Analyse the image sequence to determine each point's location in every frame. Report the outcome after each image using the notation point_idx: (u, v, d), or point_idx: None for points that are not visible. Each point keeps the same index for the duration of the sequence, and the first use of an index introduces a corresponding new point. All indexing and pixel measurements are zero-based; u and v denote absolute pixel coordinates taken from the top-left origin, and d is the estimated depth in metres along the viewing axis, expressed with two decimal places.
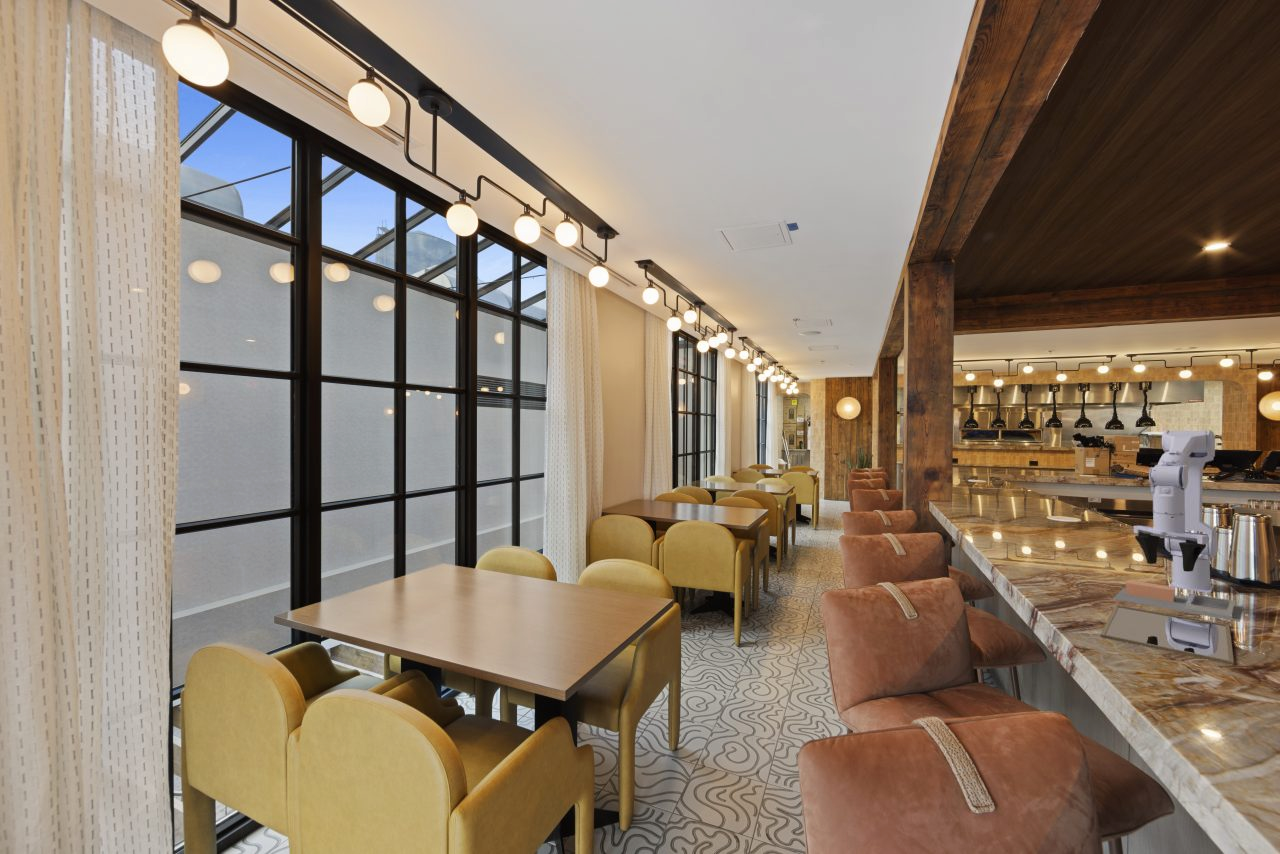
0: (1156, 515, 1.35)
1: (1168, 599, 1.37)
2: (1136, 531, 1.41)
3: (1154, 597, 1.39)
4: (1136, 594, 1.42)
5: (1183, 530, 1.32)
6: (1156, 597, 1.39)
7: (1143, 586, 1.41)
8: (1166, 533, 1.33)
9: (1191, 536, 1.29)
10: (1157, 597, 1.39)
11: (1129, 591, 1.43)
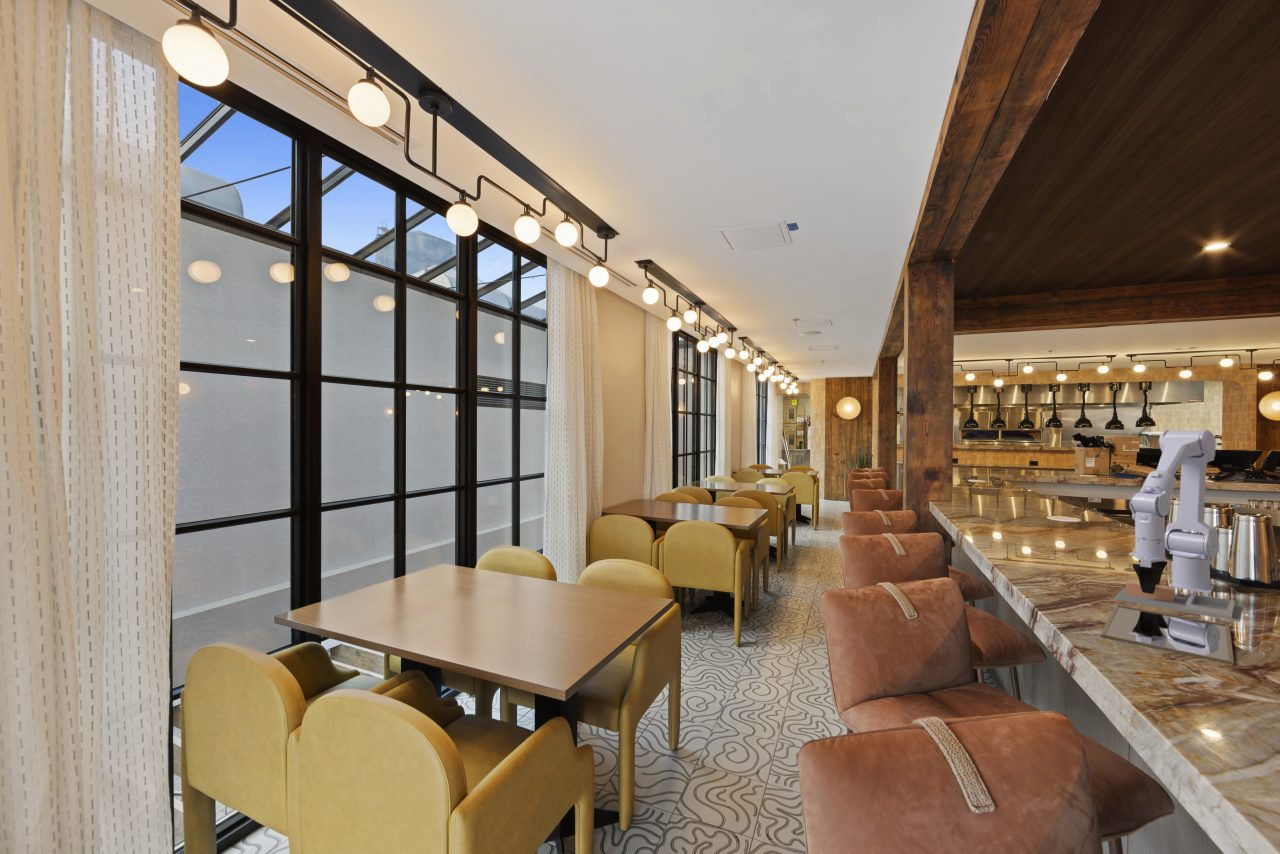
0: None
1: (1168, 599, 1.37)
2: None
3: (1154, 597, 1.39)
4: (1136, 594, 1.42)
5: (1149, 555, 1.40)
6: (1156, 597, 1.39)
7: None
8: (1134, 555, 1.43)
9: (1139, 558, 1.39)
10: (1157, 597, 1.39)
11: (1129, 591, 1.43)
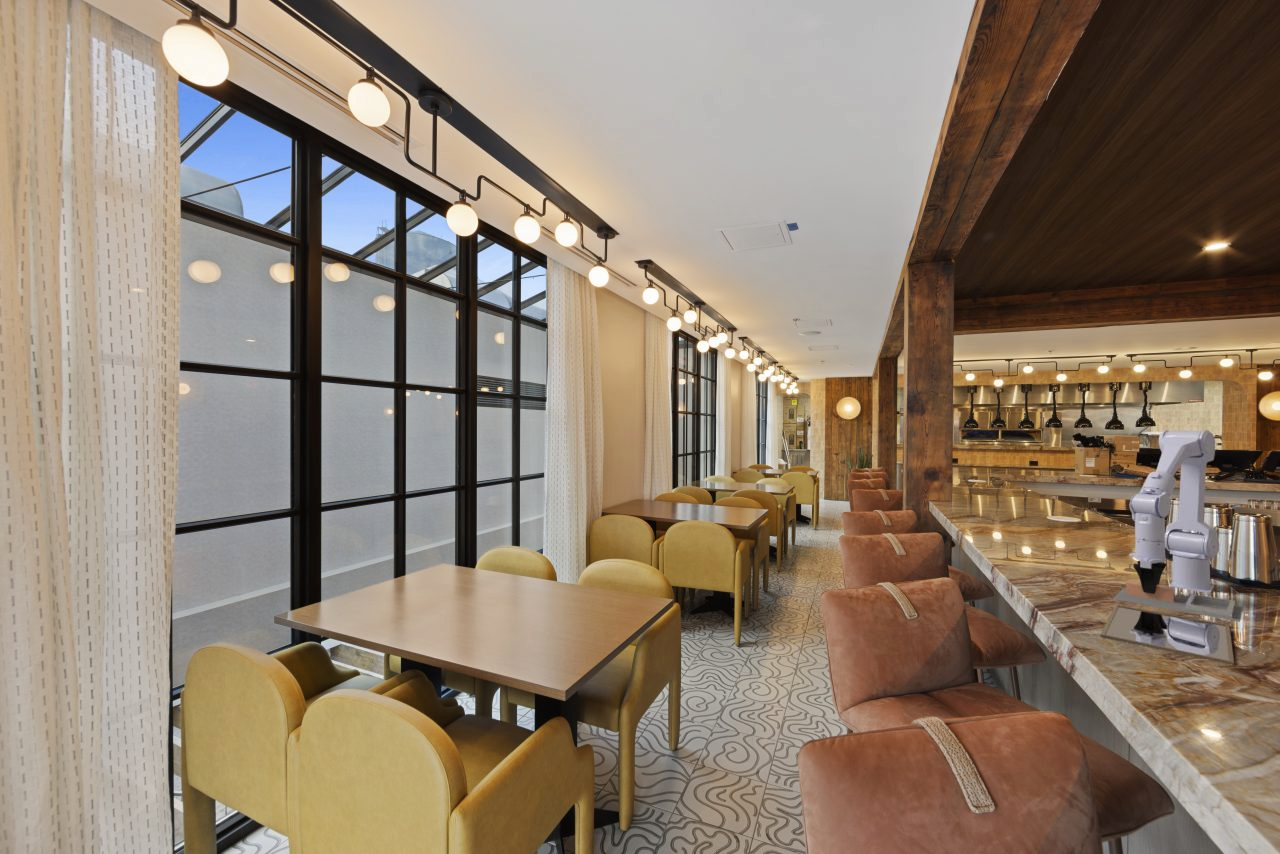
0: None
1: (1168, 599, 1.37)
2: None
3: (1154, 597, 1.39)
4: (1136, 594, 1.42)
5: (1149, 556, 1.40)
6: (1156, 597, 1.39)
7: None
8: (1134, 556, 1.43)
9: (1139, 559, 1.39)
10: (1157, 597, 1.39)
11: (1129, 592, 1.43)
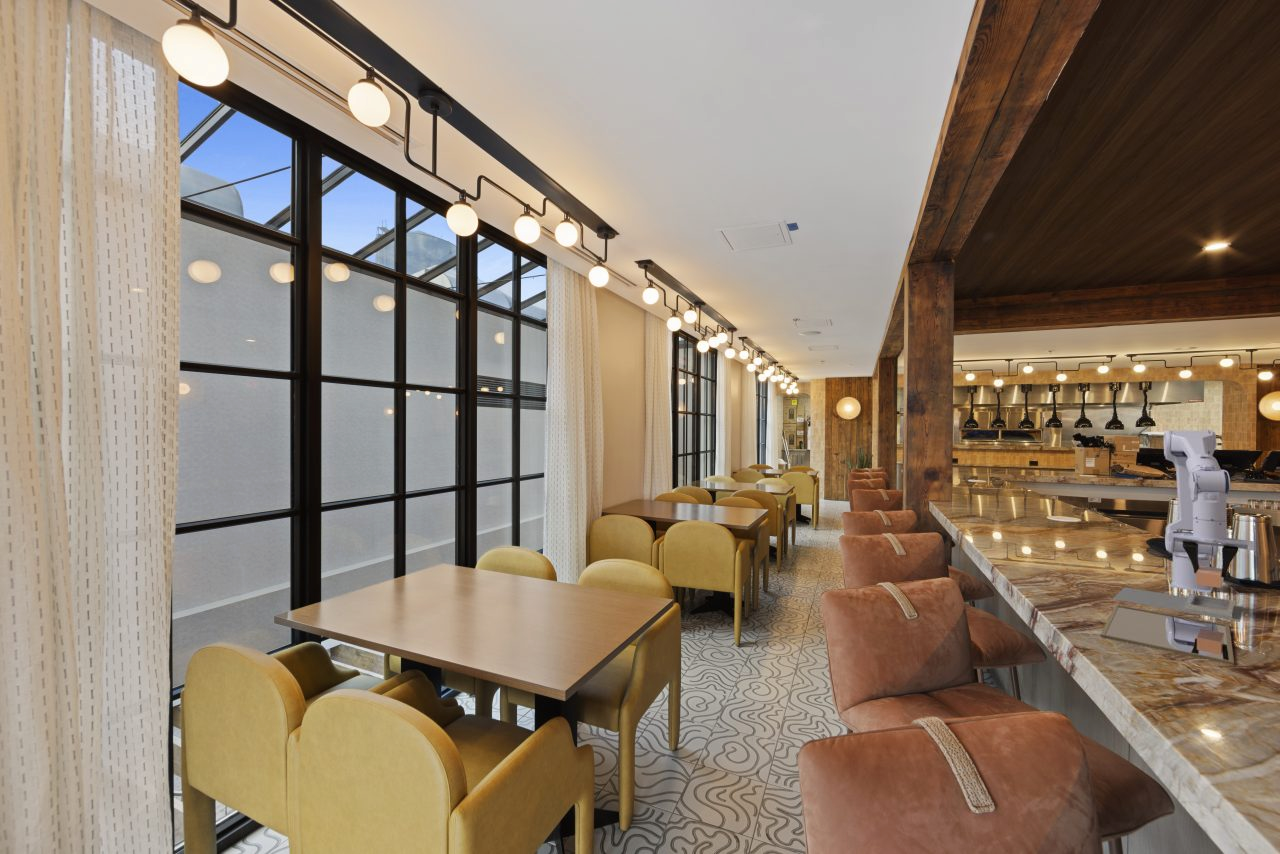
0: (1202, 522, 1.31)
1: None
2: (1171, 539, 1.36)
3: (1222, 582, 1.31)
4: (1221, 584, 1.28)
5: (1226, 536, 1.30)
6: (1222, 581, 1.31)
7: (1221, 573, 1.29)
8: (1215, 540, 1.29)
9: (1241, 542, 1.27)
10: (1222, 581, 1.31)
11: (1220, 584, 1.28)
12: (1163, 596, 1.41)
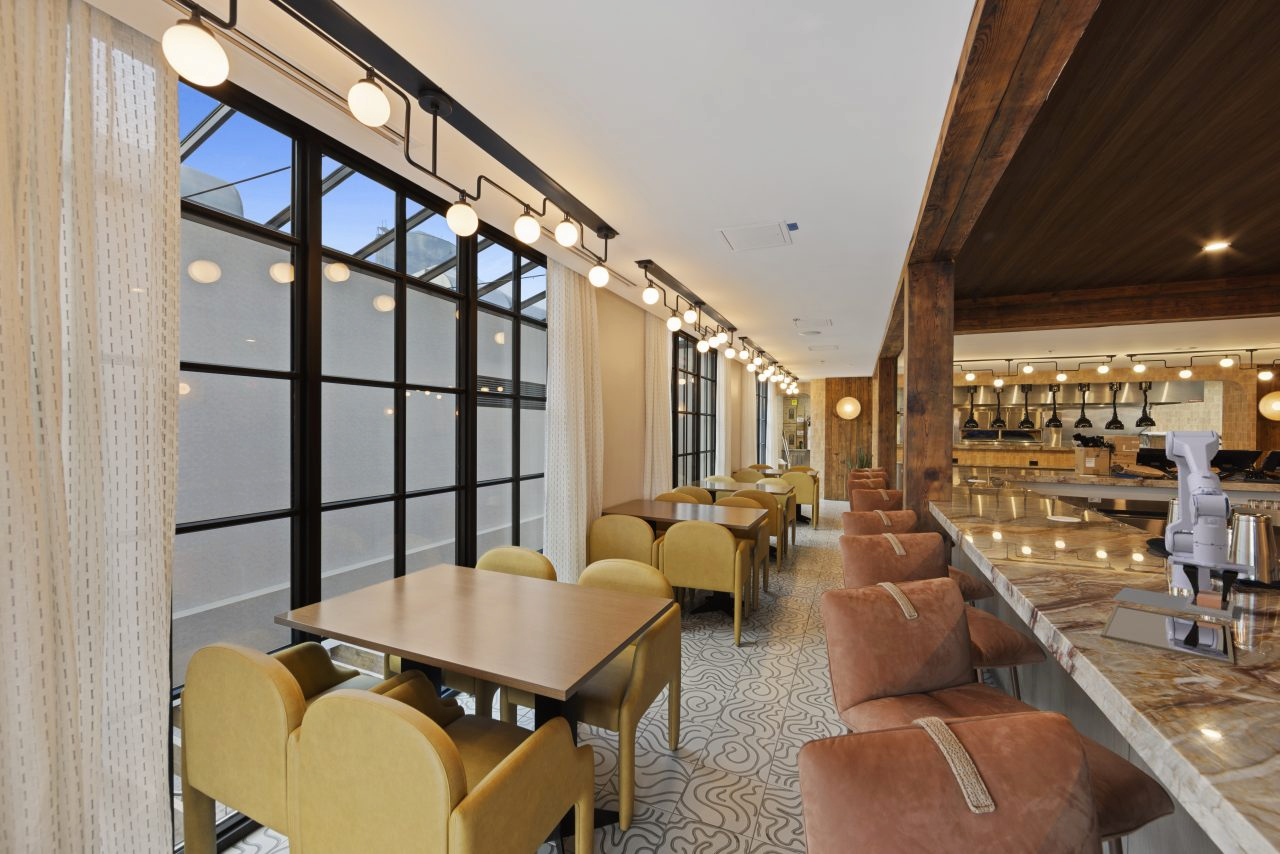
0: (1202, 546, 1.31)
1: (1223, 603, 1.32)
2: (1172, 562, 1.36)
3: (1222, 606, 1.31)
4: None
5: (1226, 561, 1.30)
6: (1222, 605, 1.31)
7: (1221, 598, 1.29)
8: (1216, 565, 1.29)
9: (1242, 567, 1.27)
10: (1222, 605, 1.31)
11: None
12: (1163, 596, 1.41)
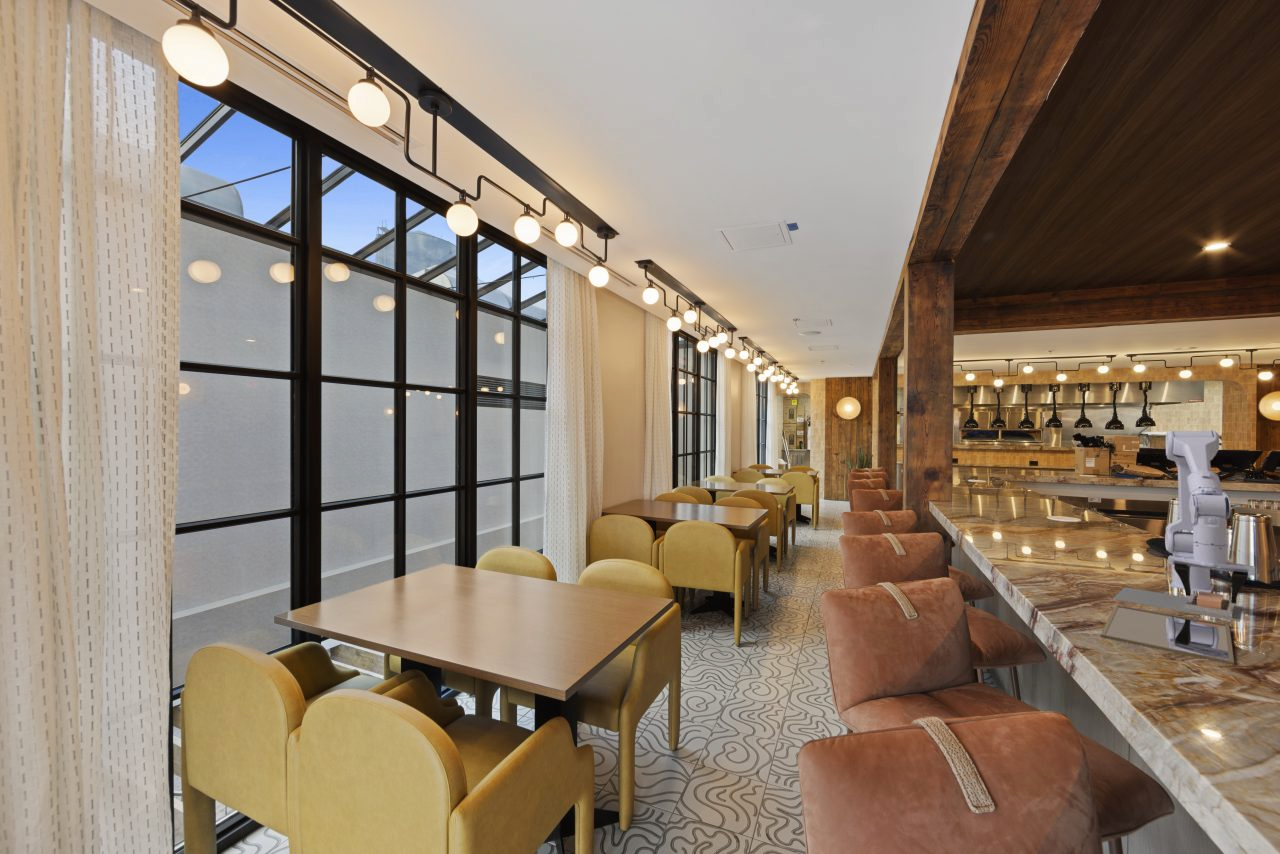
0: (1202, 546, 1.31)
1: (1223, 605, 1.32)
2: (1172, 562, 1.36)
3: (1222, 608, 1.31)
4: None
5: (1226, 561, 1.30)
6: (1222, 607, 1.31)
7: (1221, 600, 1.29)
8: (1216, 565, 1.29)
9: (1242, 567, 1.27)
10: (1222, 607, 1.31)
11: None
12: (1163, 596, 1.41)
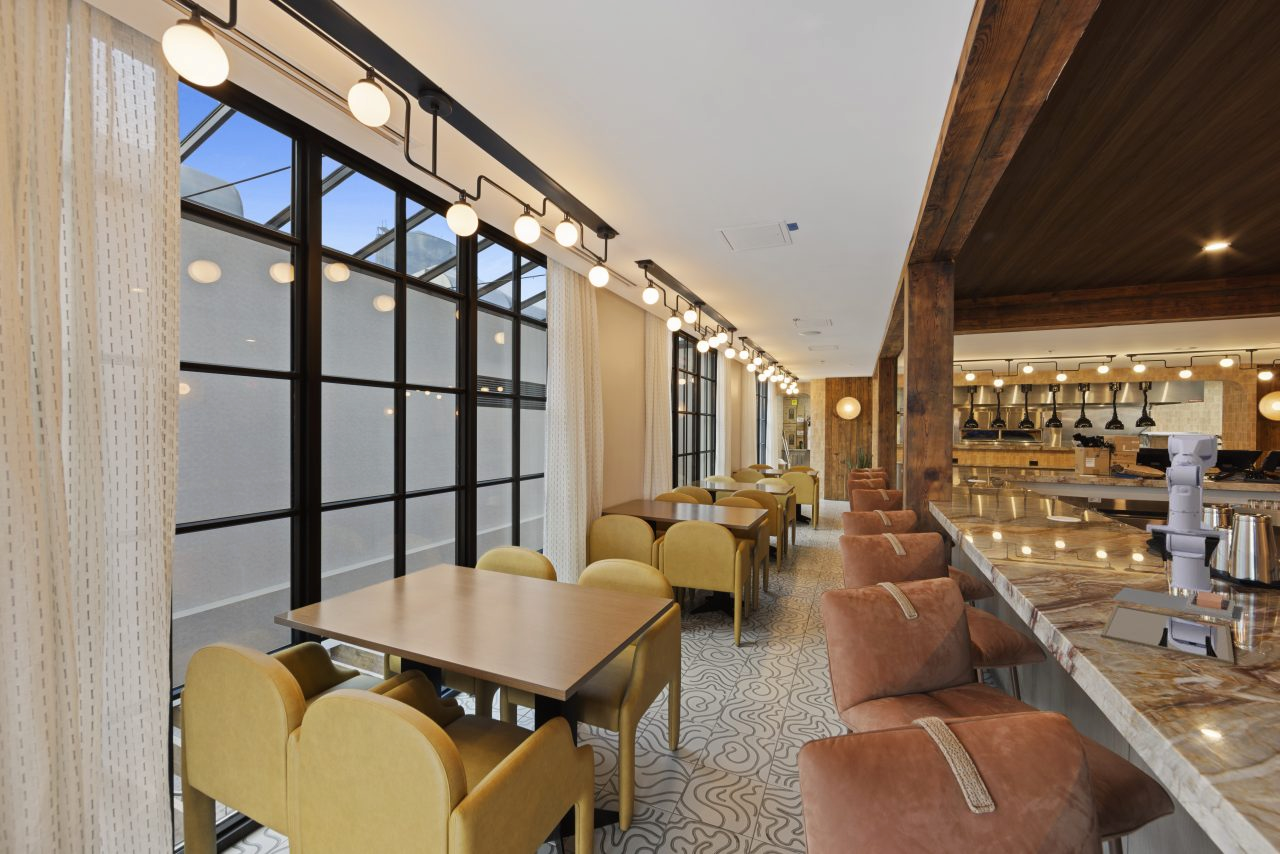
0: (1178, 514, 1.39)
1: (1223, 605, 1.32)
2: (1149, 530, 1.44)
3: (1222, 608, 1.31)
4: None
5: (1200, 527, 1.38)
6: (1222, 607, 1.31)
7: (1221, 600, 1.29)
8: (1190, 531, 1.37)
9: (1214, 533, 1.35)
10: (1222, 607, 1.31)
11: None
12: (1163, 596, 1.41)
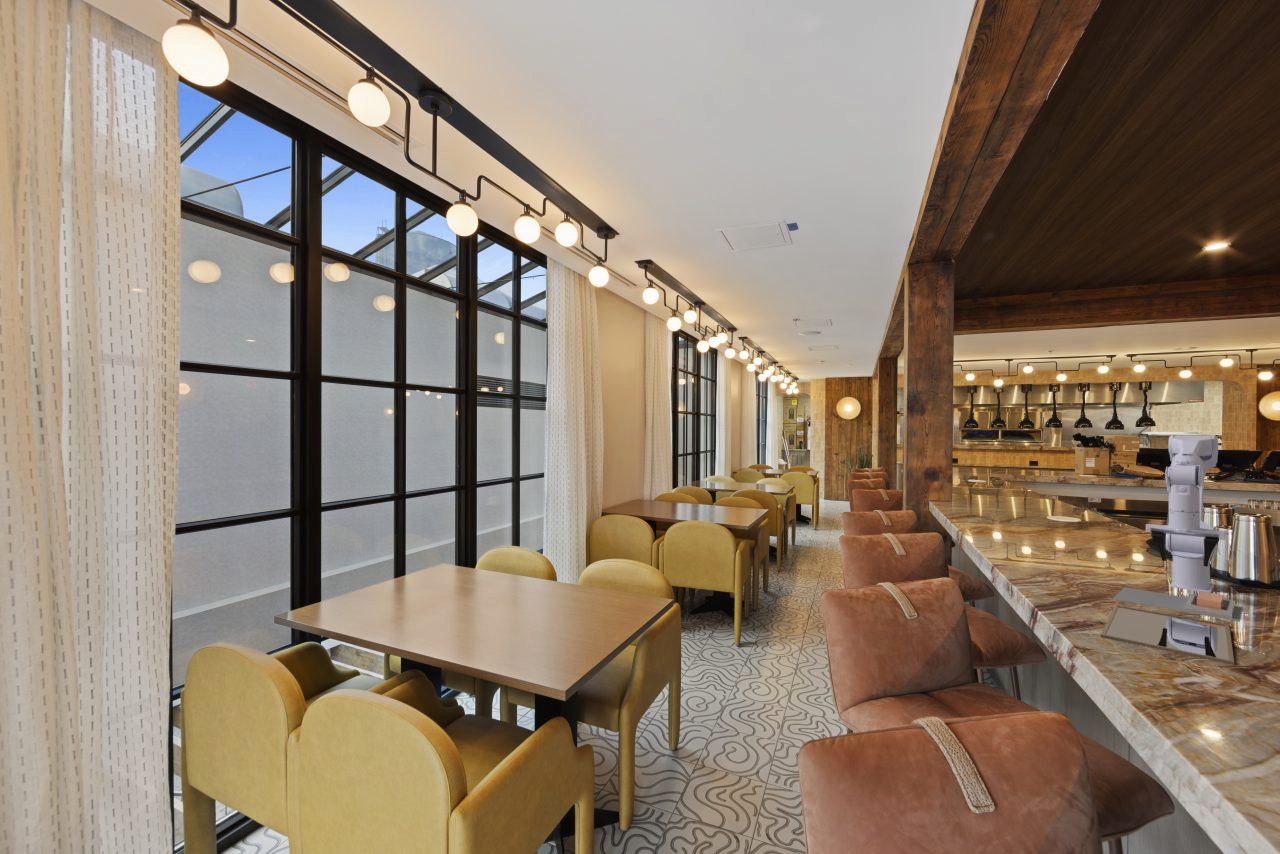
0: (1177, 513, 1.39)
1: (1223, 605, 1.32)
2: (1149, 530, 1.45)
3: (1222, 608, 1.31)
4: None
5: (1199, 527, 1.38)
6: (1222, 607, 1.31)
7: (1221, 600, 1.29)
8: (1189, 531, 1.37)
9: (1213, 532, 1.35)
10: (1222, 607, 1.31)
11: None
12: (1163, 596, 1.41)
